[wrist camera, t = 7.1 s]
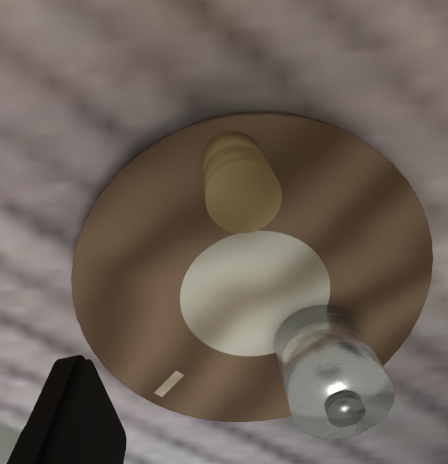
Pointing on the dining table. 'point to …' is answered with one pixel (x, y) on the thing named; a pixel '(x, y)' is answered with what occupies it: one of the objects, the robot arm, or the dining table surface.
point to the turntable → (244, 258)
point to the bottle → (331, 373)
